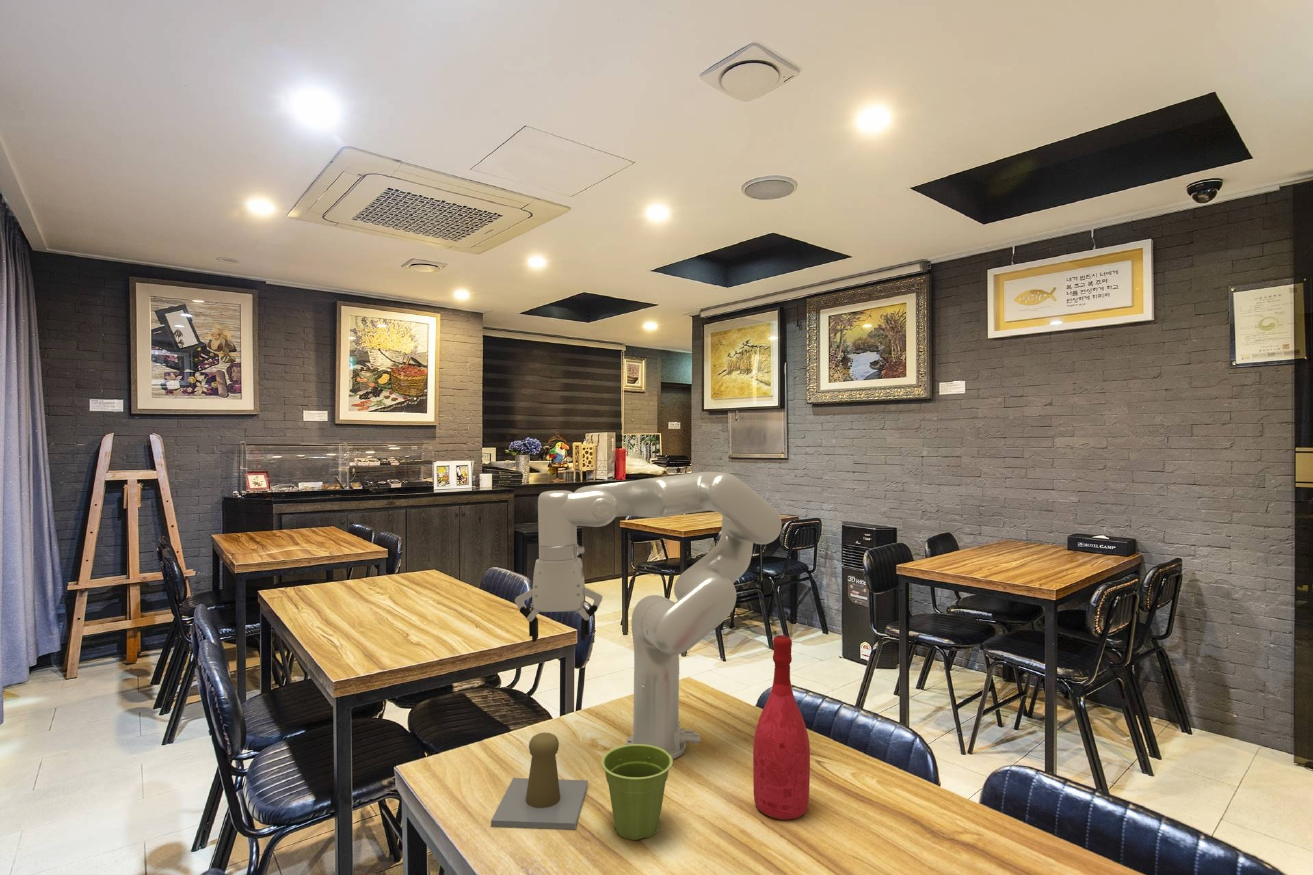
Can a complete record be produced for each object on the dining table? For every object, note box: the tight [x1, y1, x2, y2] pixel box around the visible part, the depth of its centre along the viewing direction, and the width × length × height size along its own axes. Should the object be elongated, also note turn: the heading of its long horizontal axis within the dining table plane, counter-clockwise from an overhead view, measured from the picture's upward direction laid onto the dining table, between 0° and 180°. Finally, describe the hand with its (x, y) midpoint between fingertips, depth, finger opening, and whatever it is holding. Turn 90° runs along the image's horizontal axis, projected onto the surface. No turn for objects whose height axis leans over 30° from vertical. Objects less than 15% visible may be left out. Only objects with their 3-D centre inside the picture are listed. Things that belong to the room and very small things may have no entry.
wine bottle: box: [752, 634, 811, 820], centre depth 114 cm, size 10×10×30 cm
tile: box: [490, 777, 589, 831], centre depth 114 cm, size 14×14×1 cm
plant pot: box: [600, 744, 674, 841], centre depth 107 cm, size 12×12×11 cm
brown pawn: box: [526, 732, 560, 808], centre depth 114 cm, size 6×6×11 cm
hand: (559, 639), depth 129 cm, fingers open, 9 cm apart
